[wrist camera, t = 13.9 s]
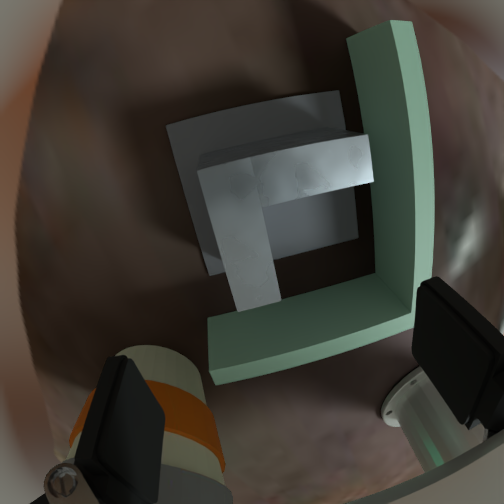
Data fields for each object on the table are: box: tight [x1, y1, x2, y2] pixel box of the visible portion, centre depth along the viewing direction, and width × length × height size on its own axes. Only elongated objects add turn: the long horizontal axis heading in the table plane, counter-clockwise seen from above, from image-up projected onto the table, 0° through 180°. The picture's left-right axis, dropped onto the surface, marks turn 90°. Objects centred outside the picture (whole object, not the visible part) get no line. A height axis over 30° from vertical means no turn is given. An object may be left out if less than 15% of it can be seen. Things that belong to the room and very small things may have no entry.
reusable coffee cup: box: [62, 345, 233, 504], centre depth 21 cm, size 13×13×15 cm
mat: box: [166, 90, 358, 276], centre depth 21 cm, size 12×11×1 cm
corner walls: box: [207, 20, 434, 385], centre depth 19 cm, size 16×20×6 cm
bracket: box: [197, 127, 374, 312], centre depth 19 cm, size 8×8×6 cm
